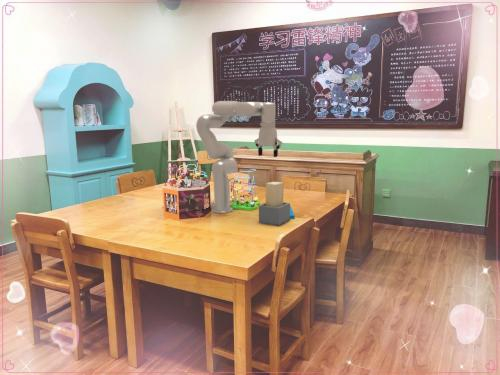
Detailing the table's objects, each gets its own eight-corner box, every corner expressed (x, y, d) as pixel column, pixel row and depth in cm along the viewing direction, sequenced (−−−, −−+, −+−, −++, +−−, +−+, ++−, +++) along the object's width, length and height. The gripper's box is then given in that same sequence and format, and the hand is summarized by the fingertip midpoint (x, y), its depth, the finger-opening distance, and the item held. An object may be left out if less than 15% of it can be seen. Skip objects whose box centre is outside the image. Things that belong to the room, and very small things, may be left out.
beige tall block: (272, 217, 236) (272, 181, 232) (283, 219, 231) (283, 182, 227) (264, 220, 229) (264, 183, 225) (275, 222, 225) (275, 184, 221)
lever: (293, 226, 239) (287, 210, 255) (294, 215, 236) (288, 200, 251) (282, 226, 238) (276, 210, 254) (282, 216, 235) (276, 200, 251)
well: (258, 223, 228) (258, 205, 226) (270, 217, 239) (270, 200, 237) (279, 226, 222) (279, 208, 220) (289, 220, 233) (289, 203, 231)
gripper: (251, 125, 230) (251, 155, 234) (278, 126, 221) (278, 158, 224) (258, 124, 236) (258, 154, 240) (285, 125, 227) (284, 156, 231)
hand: (267, 156), depth 232 cm, fingers open, 9 cm apart
